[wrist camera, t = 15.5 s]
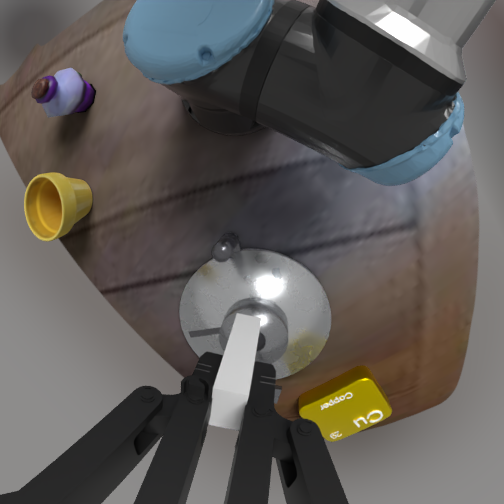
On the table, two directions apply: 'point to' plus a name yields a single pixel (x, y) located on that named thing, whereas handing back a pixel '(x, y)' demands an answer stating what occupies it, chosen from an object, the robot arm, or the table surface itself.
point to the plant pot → (55, 204)
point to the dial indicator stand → (277, 393)
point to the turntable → (262, 286)
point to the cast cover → (271, 327)
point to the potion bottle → (64, 93)
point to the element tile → (345, 404)
